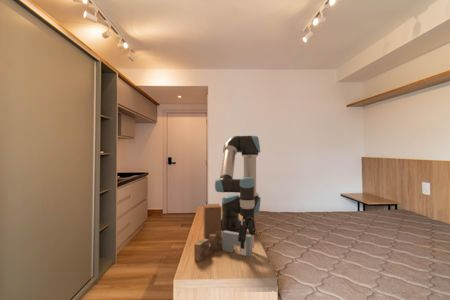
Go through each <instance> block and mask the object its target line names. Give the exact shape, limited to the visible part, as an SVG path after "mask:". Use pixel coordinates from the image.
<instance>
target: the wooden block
mask: <svg viewBox="0 0 450 300" xmlns="http://www.w3.org/2000/svg"><path fill="white" fill-rule="evenodd" d="M221 220H222V206H221V205H220V204H219V203H205V204H203V239H204V238H205V239H209V235H211V234H213V233H214V232H216V231H221V232H222V230H221Z"/></svg>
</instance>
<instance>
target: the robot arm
mask: <svg viewBox="0 0 450 300" xmlns="http://www.w3.org/2000/svg"><path fill="white" fill-rule="evenodd" d="M222 152H223V157H222V158H223V159H222V164H221V169H220V170H221V171H220V175H219V176H220V177H219V178H216V179H215V181H214V182H215V183H214V189H215V192H216V193H232V194H226V195H224V196H222V199H221V232H223V231H225V230H226V231H231V232H238V233H239V237H238V241H239V242H240V246H239V255H240V254H241V255H240V256H244V255H246V242H245V239H246V234H247V232H248V235H252V249H253V248H255V235H257V234H256V224H255V215H257V214H259V213H260V208H261V196H259V193H258V192H257V157H258V156H259V153H261V146H260V140H259V137H258V136H257V135H235V136H233V137H230V138H229V139H228V140H227V141H226V142H225V143H224V145H223V149H222ZM238 153H240V154H241V156H242V157H243V177H240V178H239V179H238V178H234V170H235V160H236V156H237V154H238ZM238 193H239V194H238ZM239 215H240V216H241V217H242V220H240V217H239Z"/></svg>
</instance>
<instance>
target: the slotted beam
mask: <svg viewBox="0 0 450 300" xmlns="http://www.w3.org/2000/svg"><path fill="white" fill-rule="evenodd" d="M222 232H223V231H222V230H221V231H216V232H214V233H213V234H211V235H209V239H205V238H204V237H203V238H202V239H201V240H198V241H197V242H196V243H194V249H193V250H194V261H195V262H201V261H202V260H204V259H205V258H207V257H208V256H209V255H211V254H212V253H214V252H215V251H216V250H218V249H219V248H220V247H222Z"/></svg>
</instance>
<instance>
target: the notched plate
mask: <svg viewBox="0 0 450 300" xmlns="http://www.w3.org/2000/svg"><path fill="white" fill-rule="evenodd" d="M221 232H222V246H221V247H222V251H224V252H227V253H233V252H234V251H235V246H236V247H240V242H239V241H238V237H239V232H238V231H235V232H231V231H226V230H225V231H221ZM245 242H246V255H243V256H245V257H247V258H251V257H252V255H253V248H252V235H249V233H248V234H246V239H245ZM239 255H240V256H242V255H241V254H240V253H239Z"/></svg>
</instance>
